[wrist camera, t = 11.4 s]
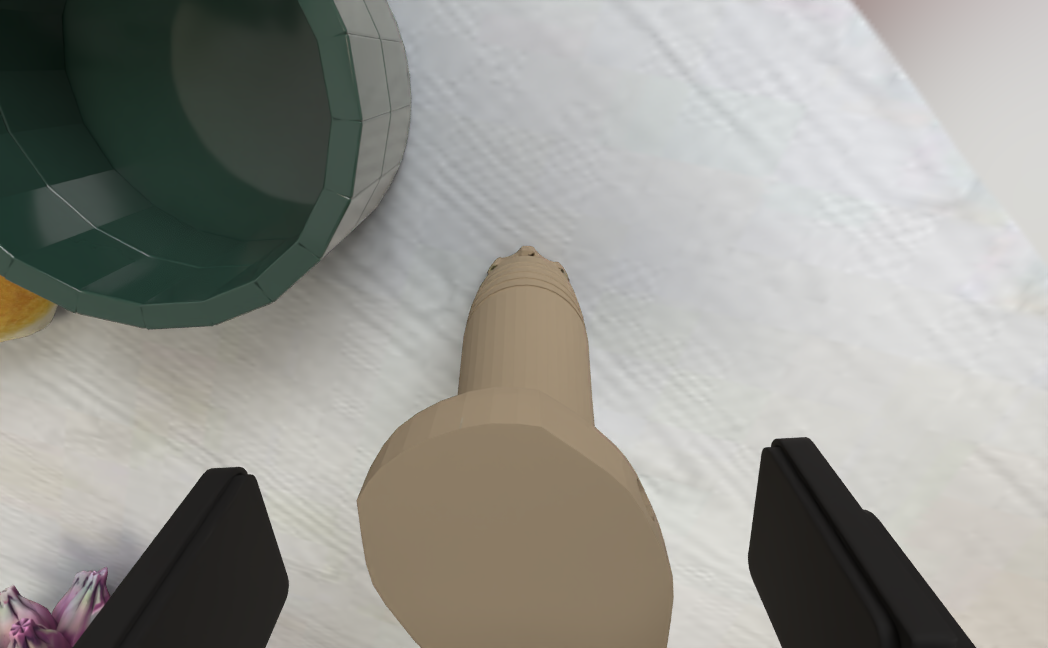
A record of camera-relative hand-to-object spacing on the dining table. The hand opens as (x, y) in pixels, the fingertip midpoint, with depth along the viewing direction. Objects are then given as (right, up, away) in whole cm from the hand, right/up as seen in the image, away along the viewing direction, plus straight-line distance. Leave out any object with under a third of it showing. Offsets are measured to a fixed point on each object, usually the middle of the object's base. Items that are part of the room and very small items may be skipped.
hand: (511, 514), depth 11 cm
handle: (0, +5, +13) cm, 14 cm away
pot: (-10, +12, +10) cm, 19 cm away
